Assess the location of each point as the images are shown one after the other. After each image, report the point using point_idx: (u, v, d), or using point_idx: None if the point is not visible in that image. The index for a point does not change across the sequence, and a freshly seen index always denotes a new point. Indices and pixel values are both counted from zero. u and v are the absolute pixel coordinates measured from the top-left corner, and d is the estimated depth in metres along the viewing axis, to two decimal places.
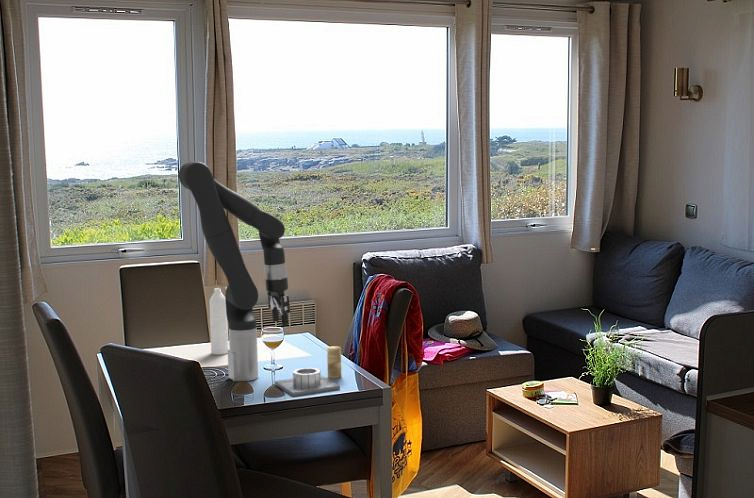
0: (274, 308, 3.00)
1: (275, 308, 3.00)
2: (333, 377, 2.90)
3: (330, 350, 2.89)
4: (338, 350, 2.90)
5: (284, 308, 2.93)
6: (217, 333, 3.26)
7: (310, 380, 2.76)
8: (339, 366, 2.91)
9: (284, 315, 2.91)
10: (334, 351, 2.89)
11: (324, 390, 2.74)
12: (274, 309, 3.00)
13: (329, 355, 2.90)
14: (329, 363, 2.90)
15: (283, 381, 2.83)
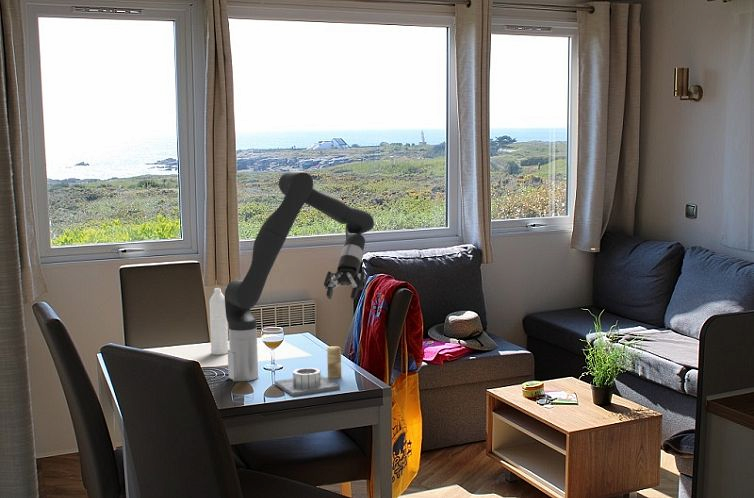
0: (332, 286, 3.02)
1: (332, 287, 3.03)
2: (333, 377, 2.90)
3: (330, 350, 2.89)
4: (338, 350, 2.90)
5: (353, 286, 3.01)
6: (217, 333, 3.26)
7: (310, 380, 2.76)
8: (339, 366, 2.91)
9: (357, 289, 2.99)
10: (334, 351, 2.89)
11: (324, 390, 2.74)
12: (332, 287, 3.02)
13: (329, 355, 2.90)
14: (329, 363, 2.90)
15: (283, 381, 2.83)
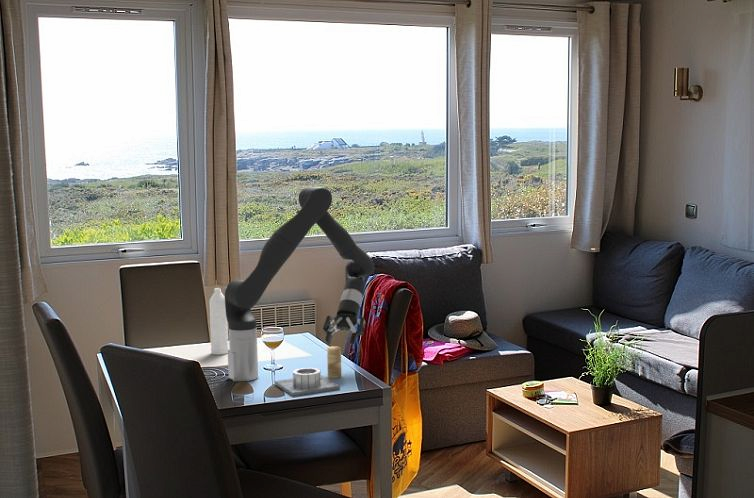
0: (331, 331, 3.01)
1: (331, 332, 3.01)
2: (333, 377, 2.90)
3: (330, 350, 2.89)
4: (338, 350, 2.90)
5: (353, 331, 3.00)
6: (217, 333, 3.26)
7: (310, 380, 2.76)
8: (339, 366, 2.91)
9: (356, 334, 2.97)
10: (334, 351, 2.89)
11: (324, 390, 2.74)
12: (331, 332, 3.00)
13: (329, 355, 2.90)
14: (329, 363, 2.90)
15: (283, 381, 2.83)
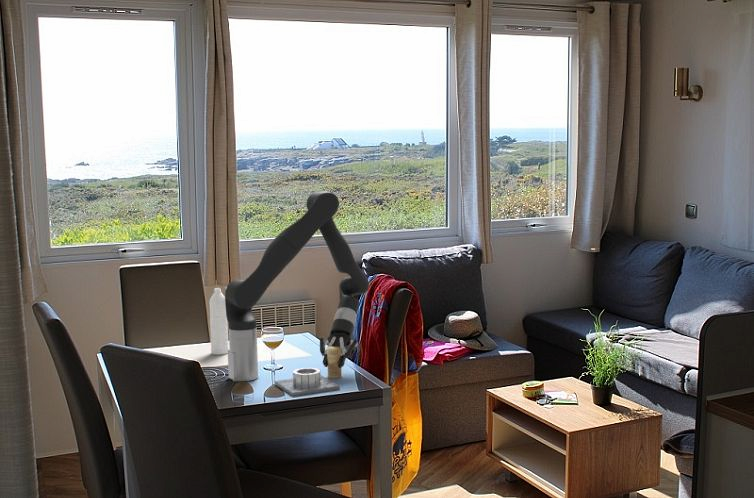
0: None
1: None
2: (333, 377, 2.90)
3: (330, 350, 2.89)
4: (338, 350, 2.90)
5: None
6: (217, 333, 3.26)
7: (310, 380, 2.76)
8: None
9: (344, 357, 2.91)
10: (334, 351, 2.89)
11: (324, 390, 2.74)
12: None
13: (329, 355, 2.90)
14: (329, 363, 2.90)
15: (283, 381, 2.83)
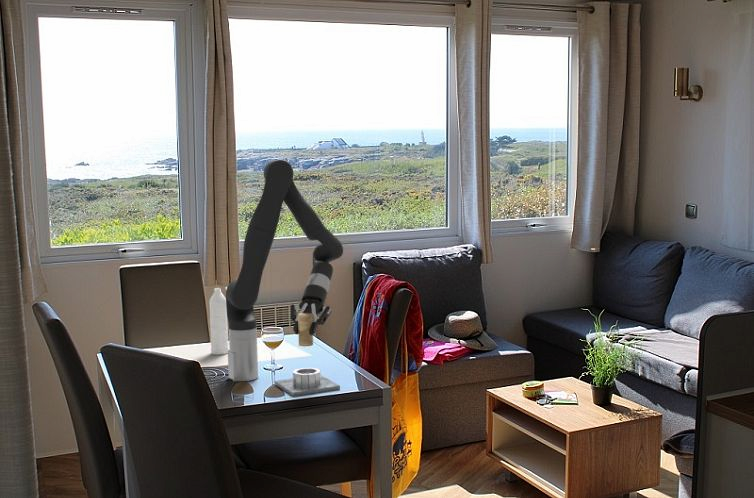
0: None
1: None
2: (304, 345, 2.77)
3: (301, 316, 2.76)
4: (309, 316, 2.76)
5: None
6: (217, 333, 3.26)
7: (310, 380, 2.76)
8: None
9: (316, 324, 2.78)
10: (305, 317, 2.76)
11: (324, 390, 2.74)
12: None
13: (300, 322, 2.76)
14: (300, 330, 2.77)
15: (283, 381, 2.83)
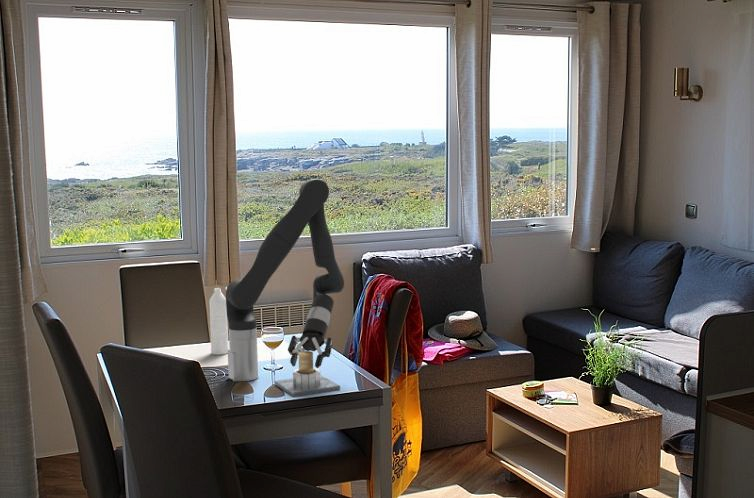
0: (296, 352, 2.82)
1: (296, 353, 2.82)
2: None
3: (301, 355, 2.77)
4: (310, 355, 2.78)
5: None
6: (217, 333, 3.26)
7: (310, 380, 2.76)
8: (311, 372, 2.79)
9: (322, 356, 2.79)
10: (305, 356, 2.77)
11: (324, 390, 2.74)
12: (296, 353, 2.82)
13: (300, 361, 2.78)
14: (300, 369, 2.78)
15: (283, 381, 2.83)
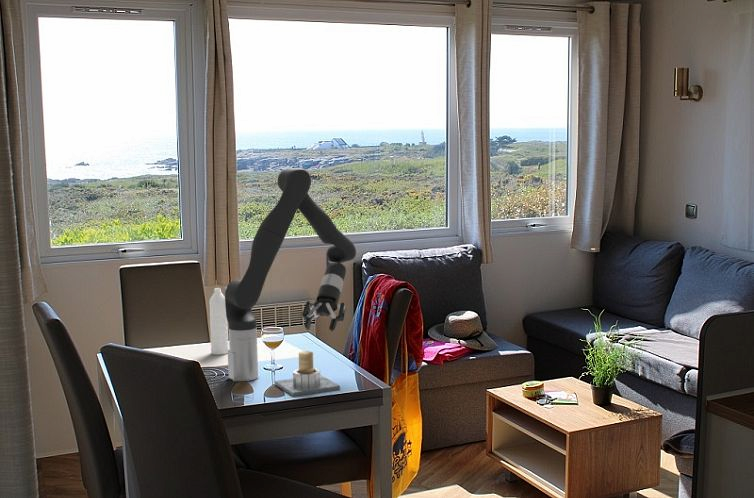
0: (310, 317, 2.93)
1: (310, 318, 2.94)
2: None
3: (301, 355, 2.77)
4: (310, 355, 2.78)
5: (333, 317, 2.92)
6: (217, 333, 3.26)
7: (310, 380, 2.76)
8: (311, 372, 2.79)
9: (336, 320, 2.90)
10: (306, 356, 2.77)
11: (324, 390, 2.74)
12: (310, 318, 2.93)
13: (300, 361, 2.78)
14: (300, 369, 2.78)
15: (283, 381, 2.83)
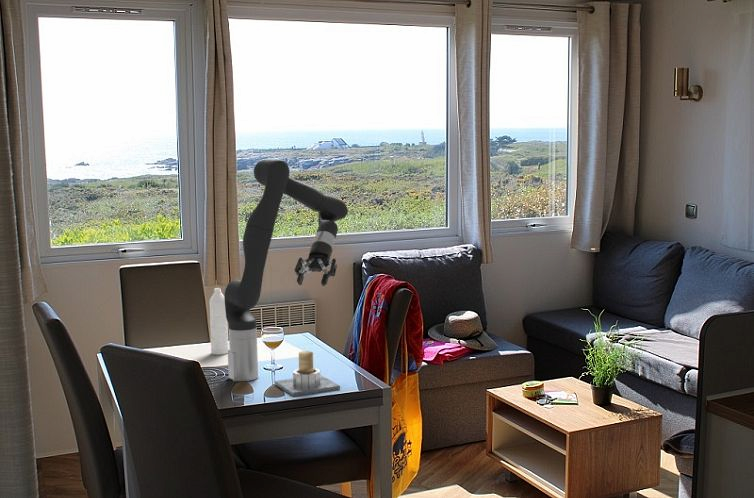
0: (302, 273, 2.99)
1: (303, 273, 2.99)
2: None
3: (301, 355, 2.77)
4: (310, 355, 2.78)
5: (324, 272, 2.98)
6: (217, 333, 3.26)
7: (310, 380, 2.76)
8: (311, 372, 2.79)
9: (327, 275, 2.96)
10: (306, 356, 2.77)
11: (324, 390, 2.74)
12: (302, 273, 2.99)
13: (300, 361, 2.78)
14: (300, 369, 2.78)
15: (283, 381, 2.83)
